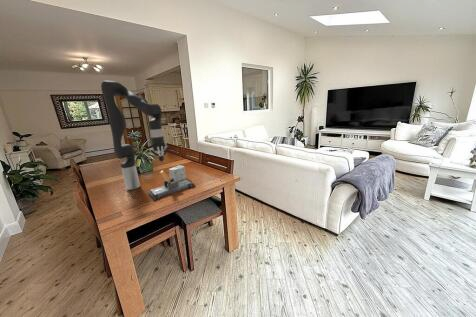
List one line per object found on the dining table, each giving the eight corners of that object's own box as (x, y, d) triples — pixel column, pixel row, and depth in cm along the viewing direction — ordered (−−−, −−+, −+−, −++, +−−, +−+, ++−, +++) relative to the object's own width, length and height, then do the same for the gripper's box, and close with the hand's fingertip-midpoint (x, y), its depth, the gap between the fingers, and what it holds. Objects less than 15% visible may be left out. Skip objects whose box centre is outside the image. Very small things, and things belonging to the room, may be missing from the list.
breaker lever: (169, 185, 137) (159, 171, 131) (171, 184, 138) (161, 169, 132) (171, 187, 134) (161, 173, 128) (173, 185, 135) (164, 171, 128)
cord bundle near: (148, 193, 133) (147, 191, 133) (153, 191, 136) (153, 189, 135) (154, 201, 122) (153, 198, 122) (160, 199, 125) (160, 196, 124)
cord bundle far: (182, 182, 149) (182, 180, 148) (187, 181, 151) (187, 179, 150) (191, 188, 137) (190, 186, 137) (196, 186, 140) (195, 184, 139)
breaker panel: (151, 193, 133) (149, 184, 131) (186, 182, 148) (184, 174, 146) (155, 198, 125) (153, 189, 123) (191, 186, 141) (190, 177, 139)
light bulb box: (181, 176, 161) (179, 164, 157) (186, 178, 157) (184, 166, 154) (170, 181, 152) (168, 168, 149) (175, 183, 149) (173, 170, 145)
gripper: (165, 133, 130) (169, 158, 135) (144, 136, 122) (149, 162, 127) (169, 134, 125) (173, 160, 130) (148, 138, 117) (153, 164, 122)
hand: (161, 161), depth 129 cm, fingers closed
